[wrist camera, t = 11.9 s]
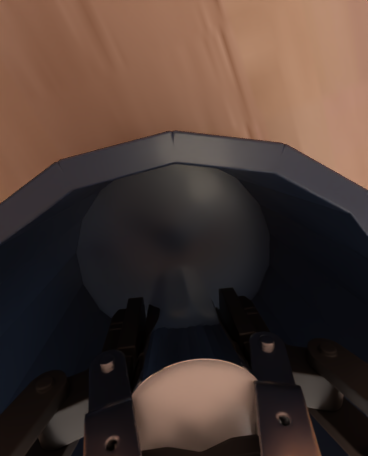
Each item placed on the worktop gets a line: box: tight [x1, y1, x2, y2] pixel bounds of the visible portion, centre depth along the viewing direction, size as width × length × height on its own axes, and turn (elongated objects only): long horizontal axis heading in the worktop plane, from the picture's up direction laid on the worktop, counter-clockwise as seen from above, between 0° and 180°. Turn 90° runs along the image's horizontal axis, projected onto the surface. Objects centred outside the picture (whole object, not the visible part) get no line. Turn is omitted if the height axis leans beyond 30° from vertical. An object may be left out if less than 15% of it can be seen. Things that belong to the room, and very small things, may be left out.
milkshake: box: [131, 265, 323, 456], centre depth 10 cm, size 4×5×10 cm
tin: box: [0, 130, 368, 456], centre depth 14 cm, size 17×17×12 cm
